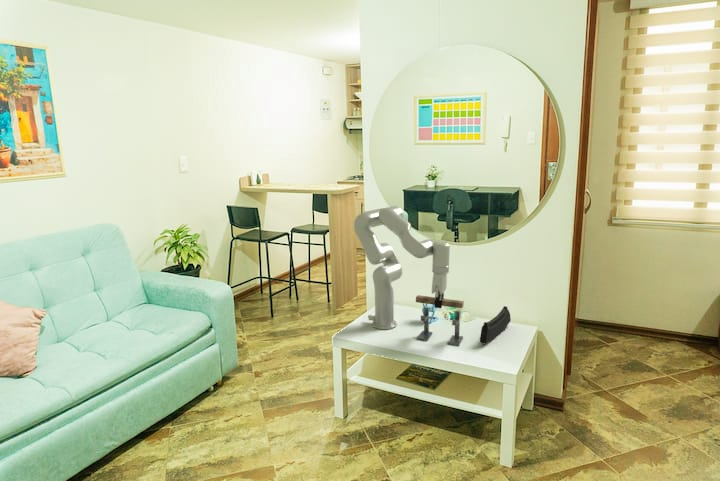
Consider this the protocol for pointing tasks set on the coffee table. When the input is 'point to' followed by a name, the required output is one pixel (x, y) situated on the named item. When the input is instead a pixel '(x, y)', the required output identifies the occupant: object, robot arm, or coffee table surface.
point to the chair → (431, 309)
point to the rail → (444, 301)
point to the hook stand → (426, 334)
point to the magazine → (495, 326)
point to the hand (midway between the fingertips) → (439, 306)
